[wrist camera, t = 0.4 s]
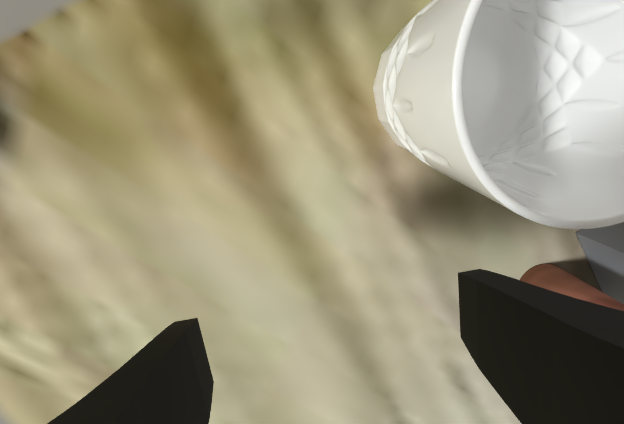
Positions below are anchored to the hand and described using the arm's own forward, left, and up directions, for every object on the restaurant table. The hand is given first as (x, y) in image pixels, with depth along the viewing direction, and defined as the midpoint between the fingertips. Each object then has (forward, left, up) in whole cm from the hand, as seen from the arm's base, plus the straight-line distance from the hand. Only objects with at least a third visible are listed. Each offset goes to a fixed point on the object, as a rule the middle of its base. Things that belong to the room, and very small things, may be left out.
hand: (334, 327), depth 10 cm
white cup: (+2, -9, -10) cm, 14 cm away
